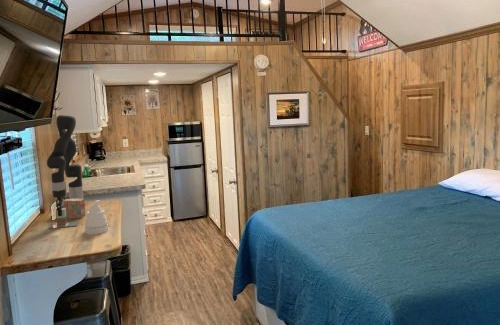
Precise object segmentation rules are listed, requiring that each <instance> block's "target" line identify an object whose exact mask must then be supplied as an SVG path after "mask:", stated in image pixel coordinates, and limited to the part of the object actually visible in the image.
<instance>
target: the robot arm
mask: <svg viewBox="0 0 500 325" xmlns="http://www.w3.org/2000/svg"><path fill="white" fill-rule="evenodd" d="M76 124H77V120H76V117H75V116H73V115H63V114H61V115H60V114H59V115H57V117H56V126H57V127H56V128H57V131H58V135H59V138H58V139H57V140H55V144H54V147H53V150H52V152H51V153H50V155H49V156H48V158H47V161H46V165H47V167H48V169H51V170H52V169H53V170H56V169H57V171H55V172H52V173H51V175H50V176H51V190H52V197H53V198H56V200H55V203H56V207H57V210H58V216H62V208H64V200H65V199H64V198H65V197H66V196H67V191H66V190H67V189H66V182H65V177H67V178H76V179H74V180H73V181H70V182H68V193H69V194H68V195H69V196H68V197H69V199H84V190H83V188H84V187H83V177H82V176H83V175H82V166H81V164H78V163H77V164H71V162H72V160H73V158H74V157H75V156H76V154H77V150H78V149H77V145H76V144H77V143H76V141H75V140H74V139H73V138H72V135H73V133H74V130H75V128H76ZM58 207H60V208H58Z"/></svg>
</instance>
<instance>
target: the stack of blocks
mask: <svg viewBox="0 0 500 325" xmlns="http://www.w3.org/2000/svg"><path fill="white" fill-rule="evenodd" d="M51 206H52V204H49V210H50V213H51ZM58 208H60V207H58ZM64 208H66V219H83V218H85V217H87V216H86V215H87V214H86V204H85V198H83V199H70V198H65V199H64Z"/></svg>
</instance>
